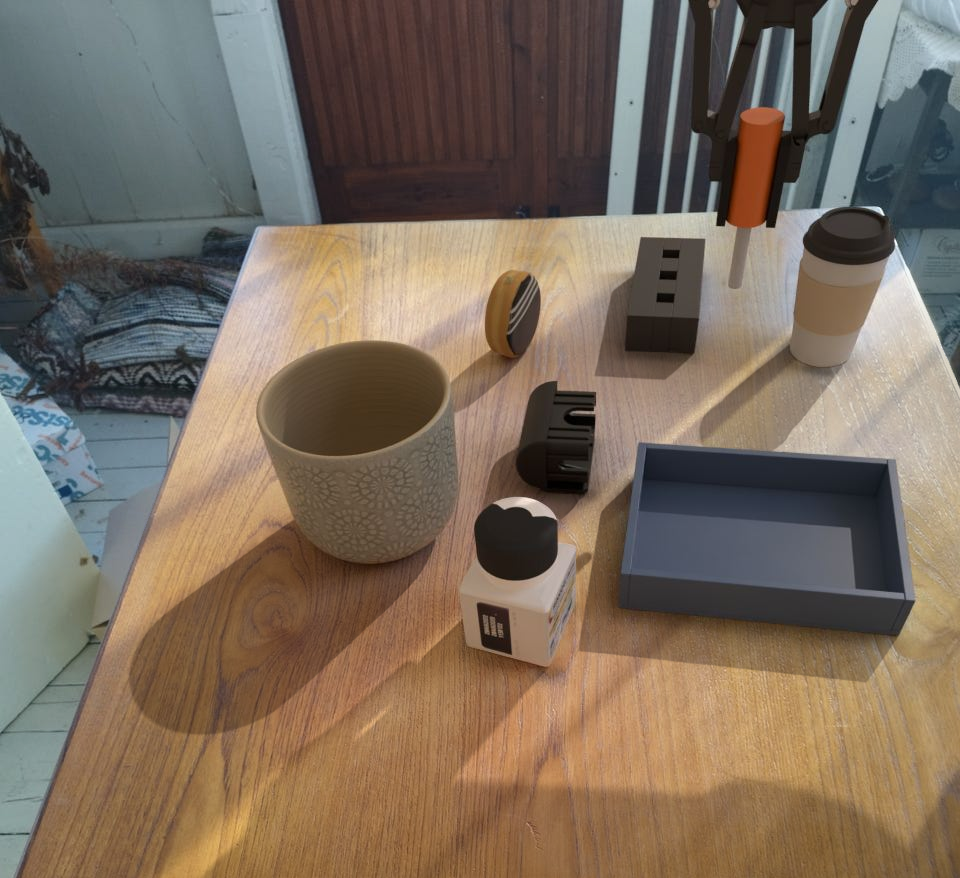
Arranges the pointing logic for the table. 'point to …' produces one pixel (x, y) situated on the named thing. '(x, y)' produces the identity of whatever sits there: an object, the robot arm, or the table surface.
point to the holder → (666, 295)
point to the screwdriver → (752, 179)
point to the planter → (364, 447)
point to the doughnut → (512, 313)
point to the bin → (768, 538)
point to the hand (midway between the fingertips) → (745, 218)
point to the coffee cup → (838, 282)
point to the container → (518, 582)
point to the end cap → (557, 440)
